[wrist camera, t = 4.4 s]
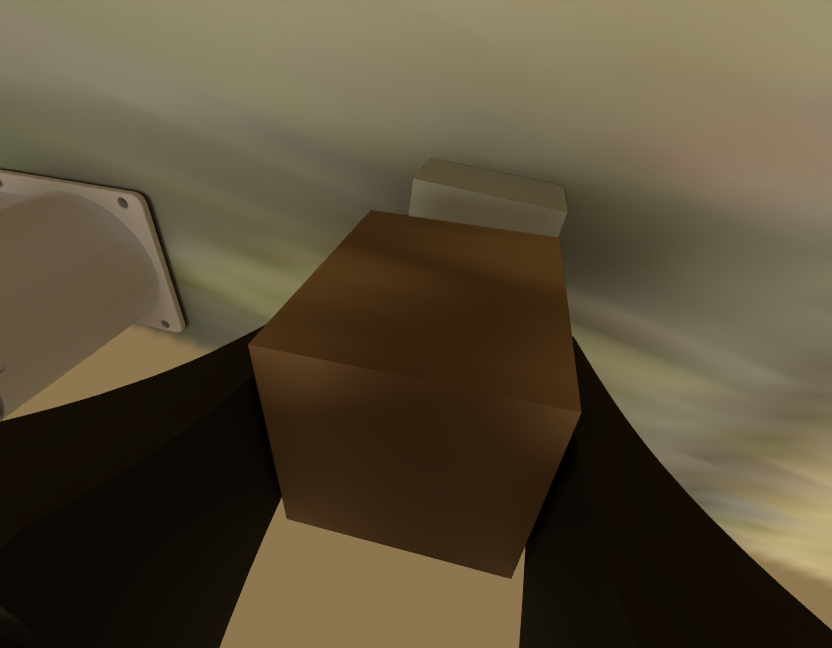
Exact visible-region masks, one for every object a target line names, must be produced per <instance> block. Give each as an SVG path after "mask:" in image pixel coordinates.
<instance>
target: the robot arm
mask: <svg viewBox="0 0 832 648" xmlns="http://www.w3.org/2000/svg"><path fill="white" fill-rule="evenodd" d="M124 199H125V200H126V201H125V200H124ZM126 202H127V203H128V204H127V203H126ZM133 323H135V324H139V325H144V326H149V327H153V328H158V329H163V330H167V331H172V332H178V333H179V332H181V331H182V330H183V329H185V322H184V319H183V316H182V312H181V309H180V306H179V303H178V300H177V297H176V293H175V290H174V287H173V284H172V281H171V278H170V274H169V271H168V268H167V265H166V262H165V259H164V255H163V252H162V249H161V246H160V243H159V240H158V236H157V233H156V230H155V227H154V224H153V221H152V217H151V214H150V211H149V208H148V205H147V202H146V200H145V199H144V197H143V196H142V195H140V194H139V193H137V192H134V191H128V190H122V189H116V188H110V187H104V186H97V185H91V184H85V183H79V182H73V181H67V180H61V179H55V178H49V177H43V176H37V175H31V174H24V173H18V172H12V171H6V170H0V648H219V647H220V645H221V642H222V639H223V637H224V634H225V631H226V629H227V626H228V623H229V621H230V618H231V616H232V613H233V611H234V608H235V606H236V603H237V601H238V598H239V596H240V593H241V591H242V588H243V586H244V583H245V581H246V578H247V576H248V573H249V571H250V568H251V566H252V564H253V561H254V559H255V557H256V554H257V552H258V550H259V547H260V545H261V543H262V540H263V538H264V535H265V533H266V531H267V529H268V526H269V524H270V522H271V520H272V517H273V515H274V513H275V511H276V509H277V506H278V504H279V502H280V500H281V497H282V495H281V490H280V486H279V481H278V477H277V472H276V468H275V463H274V459H273V454H272V450H271V445H270V441H269V436H268V432H267V428H266V423H265V419H264V414H263V410H262V405H261V401H260V396H259V392H258V387H257V383H256V378H255V374H254V369H253V365H252V360H251V356H250V351H249V347H248V344H249V343H250V342H251V341H252V340H253V339H254V337H255V336H256V335H257V334H258V333H259V332H260V331H261V330H262V329H263V328H264V326H265V325H264V326H262V327H260V328H259V329H257V330H255V331H253V332H251V333H249V334H247V335H245V336H243V337H241V338H239V339H237V340H235V341H233V342H231V343H229V344H227V345H225V346H223V347H221V348H219V349H217V350H215V351H213V352H211V353H208V354H206V355H204V356H202V357H199V358H197V359H195V360H193V361H191V362H188V363H186V364H183V365H180V366H178V367H176V368H173V369H171V370H169V371H166V372H163V373H161V374H158V375H155V376H153V377H150V378H147V379H144V380H141V381H138V382H135V383H132V384H129V385H126V386H123V387H120V388H117V389H115V390H112V391H108V392H106V393H103V394H100V395H97V396H93V397H90V398H87V399H83V400H80V401H76V402H73V403H69V404H66V405H62V406H59V407H55V408H52V409H48V410H44V411H40V412H36V413H32V414H29V415H25V416H21V417H17V418H13V419H9V420H5V421H2V419H4V418H5V417H7V416H8V415H9V414H11V413H12V412H13V411H15V410H16V409H17V408H19V407H20V406H22V405H23V404H24V403H26V402H27V401H28V400H30V399H31V398H32V397H34V396H35V395H37V394H38V393H39V392H40V391H42V390H43V389H45V388H46V387H47V386H49V385H50V384H51V383H53V382H54V381H56V380H57V379H58V378H60V377H61V376H62V375H64V374H65V373H67V372H68V371H69V370H71V369H72V368H73V367H75V366H76V365H77V364H79V363H80V362H81V361H83V360H84V359H86V358H87V357H88V356H90V355H91V354H92V353H94V352H95V351H97V350H98V349H99V348H101V347H102V346H103V345H105V344H106V343H107V342H109V341H110V340H112V339H113V338H114V337H116V336H117V335H118V334H120V333H121V332H122V331H124V330H125V329H127V328H128V327H129V326H131V325H132V324H133ZM572 342H573V350H574V357H575V365H576V373H577V381H578V389H579V397H580V405H581V415H580V417H579V419H578V422H577V424H576V427H575V429H574V431H573V434H572V436H571V438H570V441H569V443H568V445H567V448H566V450H565V453H564V455H563V457H562V460H561V462H560V464H559V467H558V469H557V472H556V474H555V476H554V479H553V481H552V483H551V486H550V488H549V490H548V493H547V495H546V498H545V500H544V502H543V505H542V507H541V509H540V512H539V514H538V517H537V519H536V521H535V524H534V526H533V528H532V531H531V533H530V535H529V538H528V540H527V543H526V545H525V565H524V583H523V599H522V614H521V628H520V643H519V648H832V630H831V629H830V628H829V627H828V626H827V625H825V624H824V623H823V622H822V621H821V620H820V619H818V618H817V617H816V616H815V615H814V614H813V613H812V612H811V611H810V610H808V609H807V608H806V607H805V606H804V605H803V604H802V603H800V602H799V601H798V600H797V599H796V598H795V597H794V596H793V595H791V594H790V593H789V592H788V591H787V590H786V589H784V588H783V587H782V586H781V585H780V584H779V583H778V582H777V581H776V580H775V579H774V578H773V577H771V576H770V575H769V574H768V573H767V572H766V571H765V570H764V569H763V568H762V567H761V566H759V564H757V563H756V562H755V561H754V560H753V559H752V558H751V557H750V556H749V555H748V554H747V553H746V552H745V551H744V550H743V549H742V548H741V547H740V546H739V545H738V544H737V543H736V542H735V541H734V540H733V539H732V538H731V537H730V536H729V535H728V534H727V533H726V532H725V531H724V530H723V529H722V528H721V527H720V526H718V525H717V524H716V523H715V522H714V521H713V520H712V519H711V518H710V517H709V516H708V514H707V513H706V512H705V511H704V510H703V509H702V508H701V507H700V506H699V505H698V504H697V503H696V502H695V501H694V500H693V499H692V498H691V497H690V495H689V494H688V493H687V492H686V491H685V490H684V489H683V488H682V486H681V485H680V484H679V483H678V482H677V481H676V480H675V479H674V477H673V476H672V475H671V474H670V473H669V472H668V471H667V470H666V468H665V467H664V466H663V465H662V464H661V463H660V462H659V460H658V459H657V458H656V457H655V456H654V454H653V453H652V452H651V451H650V449H649V448H648V447H647V446H646V444H645V443H644V442H643V440H642V439H641V438H640V437H639V435H638V434H637V433H636V431H635V430H634V429H633V427H632V426H631V425H630V423H629V422H628V421H627V419H626V418H625V416H624V415H623V414H622V412H621V411H620V409H619V408H618V406H617V405H616V403H615V402H614V400H613V399H612V397H611V396H610V394H609V393H608V392H607V390H606V388H605V387H604V385H603V384H602V382H601V381H600V379H599V378H598V376H597V374H596V373H595V371H594V369H593V368H592V366H591V365H590V363H589V361H588V360H587V358H586V356H585V355H584V353H583V351H582V350H581V348H580V346H579V345H578V343H577V341H576V340H575V338H574V337H573V336H572Z"/></svg>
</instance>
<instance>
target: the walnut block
mask: <svg viewBox="0 0 832 648" xmlns="http://www.w3.org/2000/svg"><path fill="white" fill-rule="evenodd" d="M248 347H249V351H250V356H251V360H252V365H253V369H254V374H255V378H256V383H257V387H258V392H259V396H260V401H261V405H262V410H263V414H264V419H265V423H266V428H267V432H268V436H269V441H270V445H271V450H272V454H273V459H274V463H275V468H276V472H277V477H278V481H279V486H280V490H281V495H282V499H283V503H284V508H285V513H286V517H287V519H289V520H293V521H297V522H301V523H304V524H308V525H312V526H316V527H319V528H323V529H327V530H330V531H334V532H338V533H342V534H345V535H349V536H353V537H356V538H360V539H364V540H368V541H371V542H375V543H379V544H383V545H387V546H390V547H394V548H398V549H401V550H405V551H409V552H413V553H417V554H420V555H424V556H427V557H431V558H435V559H439V560H443V561H446V562H450V563H454V564H457V565H461V566H465V567H469V568H473V569H476V570H480V571H483V572H488V573H491V574H495V575H499V576H502V577H507V578H510V579H511V578H512V576H513V573H514V571H515V569H516V566H517V564H518V562H519V559H520V557H521V554H522V552H523V550H524V547H525V545H526V543H527V540H528V538H529V535H530V533H531V531H532V528H533V526H534V524H535V521H536V519H537V517H538V514H539V512H540V509H541V507H542V505H543V502H544V500H545V498H546V495H547V493H548V490H549V488H550V486H551V483H552V481H553V479H554V476H555V474H556V472H557V469H558V467H559V464H560V462H561V460H562V457H563V455H564V453H565V450H566V448H567V445H568V443H569V441H570V438H571V436H572V434H573V431H574V429H575V427H576V424H577V422H578V419H579V417H580V415H581V405H580V397H579V389H578V381H577V373H576V365H575V357H574V350H573V342H572V334H571V326H570V318H569V310H568V302H567V294H566V286H565V278H564V270H563V262H562V254H561V246H560V239H559V237H553V236H546V235H539V234H532V233H525V232H518V231H511V230H504V229H497V228H490V227H483V226H476V225H469V224H463V223H456V222H449V221H442V220H435V219H428V218H421V217H414V216H407V215H400V214H393V213H386V212H379V211H373V210H371V211H370V212H369V213H368V214H367V215H366V216H365V217H364V218H363V219H362V221H361V222H360V223H359V224H358V225H357V226H356V227H355V228H354V229H353V230H352V231H351V233H350V234H349V235H348V236H347V237H346V238H345V239H344V240H343V241H342V242H341V243H340V245H339V246H338V247H337V248H336V249H335V250H334V251H333V252H332V253H331V254H330V255H329V257H328V258H327V259H326V260H325V261H324V262H323V263H322V264H321V265H320V266H319V268H318V269H317V270H316V271H315V272H314V273H313V274H312V275H311V276H310V277H309V278H308V280H307V281H306V282H305V283H304V284H303V285H302V286H301V287H300V288H299V289H298V290H297V292H296V293H295V294H294V295H293V296H292V297H291V298H290V299H289V300H288V301H287V302H286V304H285V305H284V306H283V307H282V308H281V309H280V310H279V311H278V312H277V313H276V314H275V316H274V317H273V318H272V319H271V320H270V321H269V322H268V323H267V324H266V325H265V326H264V328H263V329H262V330H261V331H260V332H259V333H258V334H257V335H256V336H255V337H254V339H253V340H252V341H251V342H250V343H249V344H248Z"/></svg>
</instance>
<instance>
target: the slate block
mask: <svg viewBox="0 0 832 648" xmlns="http://www.w3.org/2000/svg"><path fill="white" fill-rule="evenodd" d="M567 213H568V212H567V207H566V201H565V195H564V189H563V186H561V185H556V184H551V183H547V182H542V181H537V180H533V179H528V178H523V177H519V176H514V175H509V174H505V173H500V172H495V171H491V170H486V169H481V168H477V167H472V166H467V165H462V164H458V163H453V162H448V161H444V160H439V159H434V158H430V159H429V160H428V161H427V163H426V164H425V165H424V166H423V168H422V169H421V170H420V171H419V172H418V174H417V175H416V176H415V177H414V179H413V185H412V193H411V200H410V207H409V215H408V216H414V217H421V218H428V219H435V220H442V221H449V222H456V223H463V224H469V225H476V226H483V227H490V228H497V229H504V230H511V231H518V232H525V233H532V234H539V235H546V236H553V237H559V234H560V231H561V229H562V226H563V223H564V221H565V218H566V215H567Z"/></svg>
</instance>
